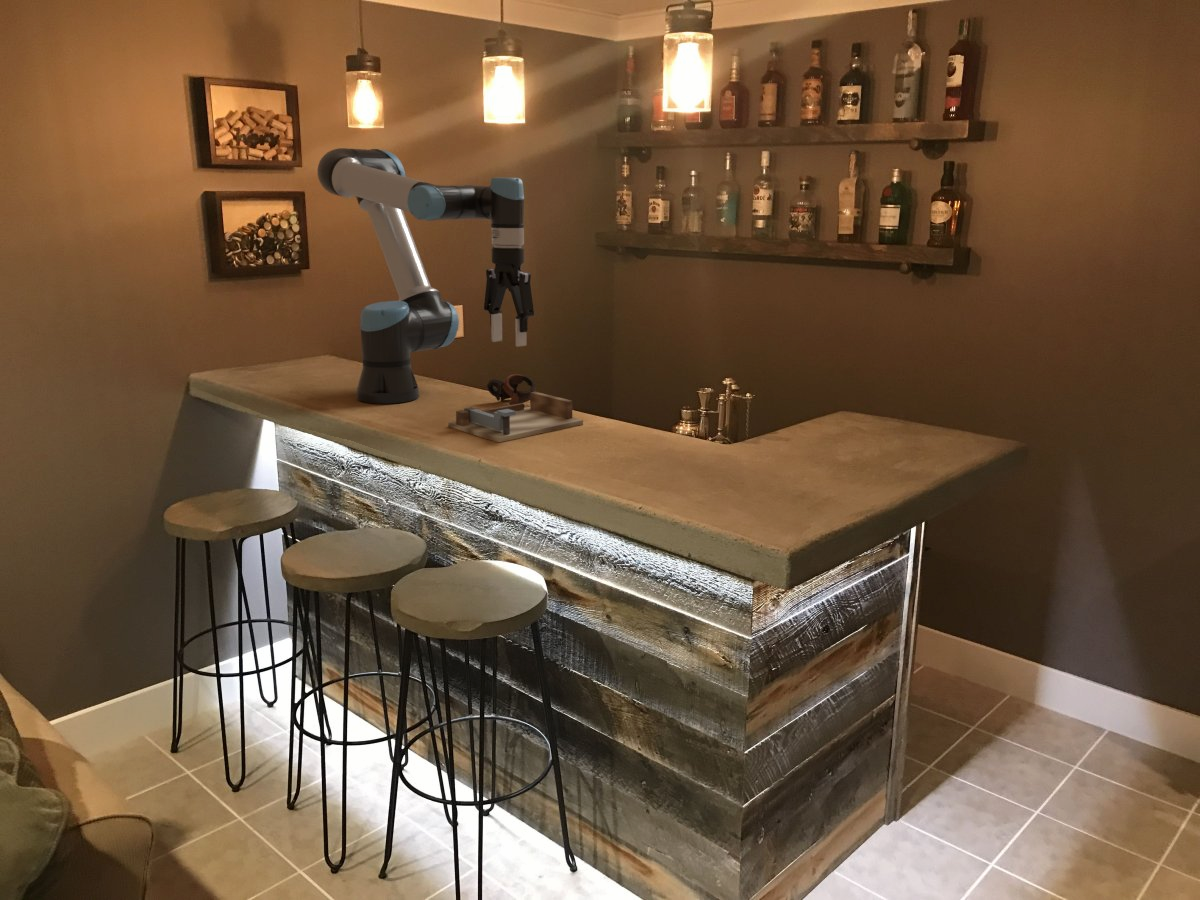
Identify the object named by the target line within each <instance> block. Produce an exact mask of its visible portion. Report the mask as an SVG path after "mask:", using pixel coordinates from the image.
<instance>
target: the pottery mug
mask: <svg viewBox="0 0 1200 900" xmlns="http://www.w3.org/2000/svg"><path fill="white" fill-rule="evenodd" d="M523 382H525V383H526V384H527V386H529V387H530V388H529V389H528V390H524V391H522V390H518V389H517V388H518V387H519V384H522V383H523ZM486 387H487V391H488V392H489V393H490V395H491V396H493V397H495V399H496V400H497V401H500V402H504V401H505V400H507V399H510V401H509V405H514V404H519V403H523V404H525V403H527V402H529V401H530V392H537V391H536V384H535V382H534V381H533V379H532V378H531V377H530V376H527V375H523V374H521V373H520V374H519V373H513V374H510V375H508V376H507V377H506V378H505V379H504V380H503V381H502V380H499V379H497V378H493V379H490V380H489V381H488V383H487V385H486ZM495 388H496V389H495ZM509 405H508V406H509Z"/></svg>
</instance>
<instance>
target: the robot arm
mask: <svg viewBox="0 0 1200 900" xmlns="http://www.w3.org/2000/svg"><path fill="white" fill-rule="evenodd" d="M317 178H318V180H319V183H320V184H321V187H323V189H324V190H325V191H327V192H328V193H330V194H332V195H335V196H338V197H343V198H346V199H348V198H353V197H355V198H356V201H357V204H358V206H359V208H360V210H363V211H365V212H366V213H368V216H369V219H370V221H371V224H372V227H373V230H374V231H375V235H376V238H377V240H378V243H379V246H380V249H381V252H382V254H383V256H384V259H385V262H386V265H387V269H388V270H389V274H390V276H391V279H392V281H393V283H394V287H395V290H396V292H397V294H398V300H388V301H379V302H375V303H371V304H368V305H366V306H364V307H363V308H362V309H361V312H360V322H359V328H360V338H361V339H360V340H361V355H362V356H361V357H362V370H361V373H360V376H359V380H358V384H357V388H356V399H357V400H358V401H360V402H362V403H367V404H368V403H370V404H378V405H379V404H384V405H385V404H399V403H407V402H410V401H414V400H417V399H418V398H419V397H420V388H419V385H418V382H417V380H416V377H415V375H414V371H413V369H412V366H411V353H415V352H422V351H428V350H438V349H439V348H443V347H447V346H449V345H450V344H452V342H454V340H455V338H456V337H457V334H458V331H459V325H460V324H459V323H460V321H459V320H460V319H459V315H458V312H457V309H456V308H455V306H454V305H453V304H451V302H449V301H446V300H443V299H442V295H441V292H440V291H439V290H438V289H436V288H435V287H432V286H431V283H430V280H429V278H428V275H427V272H426V269H425V266H424V264H423V261H422V259H421V256H420V253H419V251H418V248H417V245H416V242H415V240H414V237H413V235H412V231H411V229H410V226H409V224H408V221H407V218H406V214H405V213H404V212H407V213H410V214H412V216H413V217H414V219H417V220H420V221H421V220H422V221H427V222H432V221H439V220H490V226H491V245H492V246H493V247H492V248H491V262H492V264H495V265H494V268H491V269H486V271H485V274H486V285H485V294H484V304H483V309H484V311H488V314H489V316H490V317H489V319H490V321H489V322H490V323H489V324H490V327H491V331H490V332H491V334H490V335H491V342H493V343H495V342H503V314H502V312H503V311H502V310H501V308H502V305H503V301H504V297H505V295H506V291H508V292H510V295H511V298H512V302H513V304H514V307H515V313H516V315H517V316H515V319H514V320H515V325H514V327H515V347H517V348H518V347H525V346H527V341H528V340H527V332H528V318H530V317H533V316H534V315H535V310H534V304H533V303H534V302H533V295H532V294H533V293H532V287H531V279H532V273H530V272H523V270H522V264H524V262H525V248H524V247H523V246H524V244H525V227H524V219H525V218H524V214H525V213H524V207H525V203H524V202H525V193H524V183H523V182H524V181H523V180H522V178H519V177H492V178H491V179H490V185H489V186H488V185H487V186H485V185H473V184H469V185H467V184H464V185H441V184H440V185H439V184H433V183H430V182H426V181H423V180H419V179H416V178H412V177H407V176H406V172H405V168H404V165H403V163H402V161H401V159H399V158H398V157H397V156H396V155H395V154H394V153H393V152H390V151H388V150H384V149H383V150H382V149H379V148H371V149H370V148H369V149H365V148H347V147H343V148H342V147H341V148H340V147H339V148H334V149H332V150H330V151H327V152H326V153H325V154H324V155H323V156H322V158H320V160H319V163H318V165H317Z"/></svg>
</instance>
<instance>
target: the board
mask: <svg viewBox="0 0 1200 900" xmlns="http://www.w3.org/2000/svg"><path fill="white" fill-rule="evenodd" d="M529 401H530V402H529V404H530V405H529V406H527V407H525V403H519V404H514V405H504V406H500V407H493V408H488V409H482V410H481V411H483V412H486V413H490V414H493V415H494V412H497V411H498V410H504V409H510V410H513V411H516V415H512V416H507V417H504V416H503V430H501V431H498V430H495V429H492V428H489V427H486V426H483V425H480V424H477V423H474V422H471V421H469V412H468V411H464V409H461V410H456V411H455V420H454V421H448V422H447V427H448V428H452V429H455V430H458V431H461V432H464V433H467V434H471V435H474V436H477V437H480V438H484V439H487V440H490V441H493V442H495V443H496V442H497V443H502V442H509V441H512V440H513V441H514V440H517V439H522V438H526V437H530V436H534V435H540V433H541V434H544V433H550V432H554V431H559V430H563V429H567V428H568V429H569V428H573V427H577V426H580V425H581V426H582V425H584V420H583V419H581V418H576V417H573V400H571V399H567V398H563V397H558V396H555V395H551V394H545V393H542V392H539V391H536V392H530V400H529Z"/></svg>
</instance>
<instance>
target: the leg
mask: <svg viewBox="0 0 1200 900" xmlns="http://www.w3.org/2000/svg"><path fill="white" fill-rule="evenodd" d="M463 410H464V411H468V412H469V421H471V422H474V423H477V424H480V425H483V426H486V427H489V428H492V429H495V430H498V431H501V430H503V416H504V417H507V416H512V415H516V411H513V410H510V409H504V410H498V411H497V412H494V415H493V414H490V413H486V412H483V411H482V410H481V409H477V408H475V407H471V406H470V407H464V408H463Z"/></svg>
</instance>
